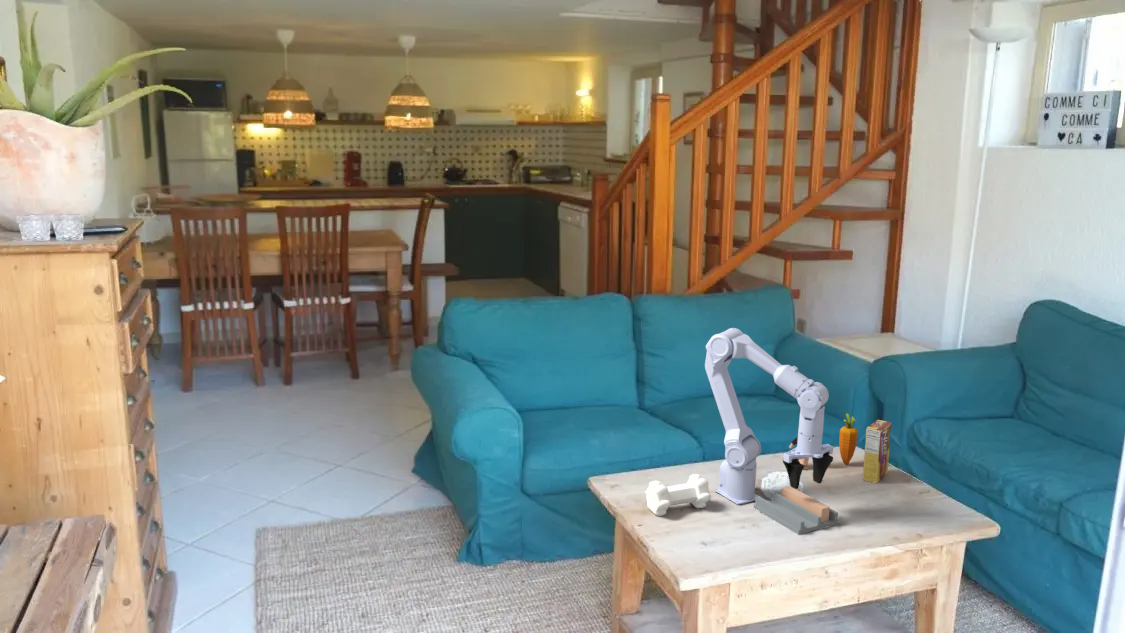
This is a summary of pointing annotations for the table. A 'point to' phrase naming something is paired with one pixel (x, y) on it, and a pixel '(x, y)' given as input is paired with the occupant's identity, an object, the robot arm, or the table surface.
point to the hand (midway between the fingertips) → (805, 484)
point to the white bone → (677, 494)
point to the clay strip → (806, 502)
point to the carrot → (848, 440)
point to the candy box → (876, 451)
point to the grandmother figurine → (802, 461)
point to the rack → (793, 514)
